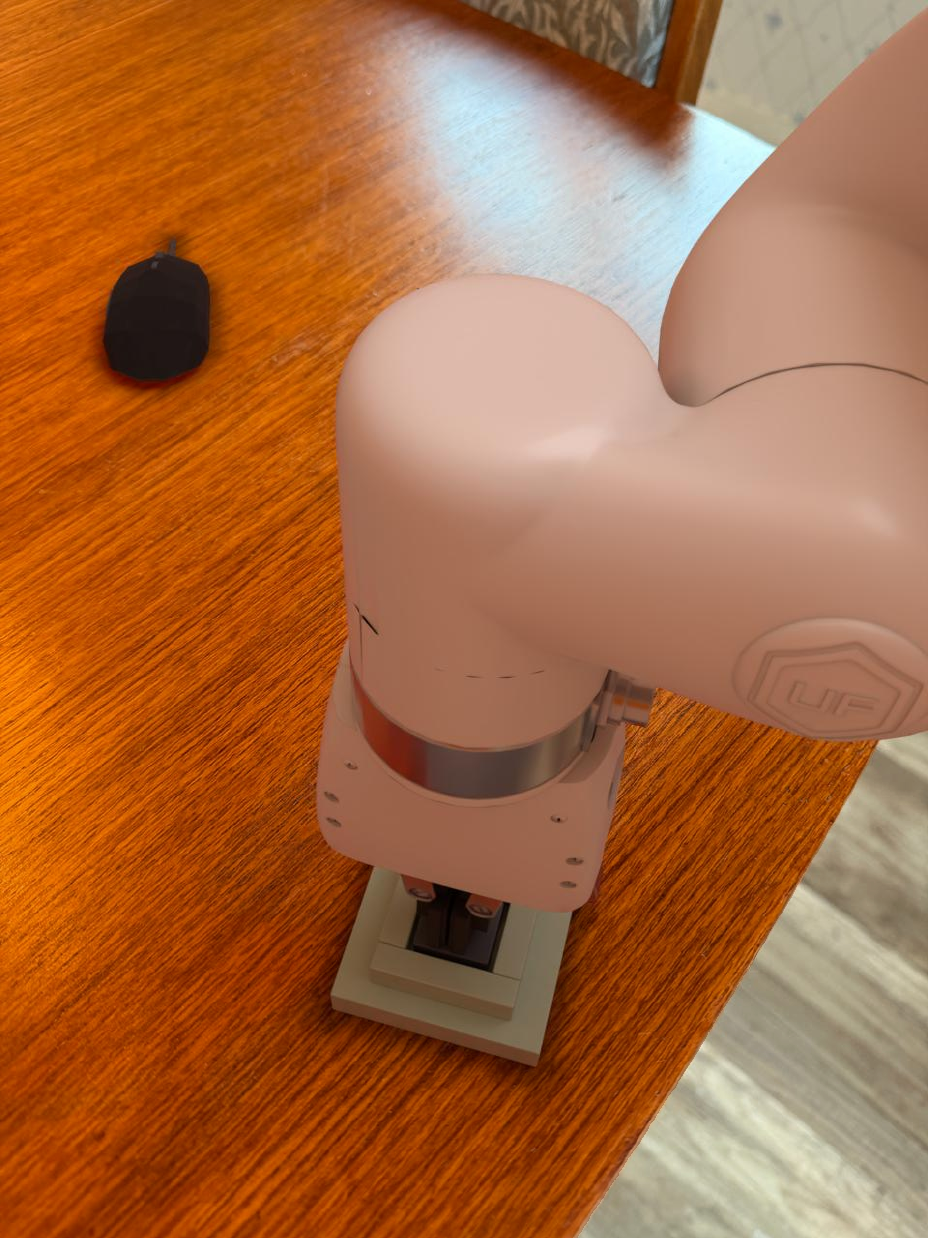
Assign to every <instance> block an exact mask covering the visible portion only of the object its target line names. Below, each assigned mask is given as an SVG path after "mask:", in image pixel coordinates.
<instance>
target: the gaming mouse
mask: <svg viewBox="0 0 928 1238" xmlns="http://www.w3.org/2000/svg"><path fill="white" fill-rule="evenodd" d="M176 246H177V239H176V238H171V239H170V242H169V248H168V250H167V251H166V252H165V251H164V250H163V251H162V250H161V251H155V252H154V255H153V256H150V257H148V258H146V259H143V260H140V261H138V262H135V263H133V264H131V265H128V266H127V267H126V268H125V270H123V272H122V273H121V274H120V275H119V277H118V279H117V281H116V282H115V284H114V285H113V289H111V291H110V293H109V298H108V301H107V305H106V309H105V314H104V317H105V321H104V329H103V335H102V336H103V337H102V344H103V347H104V351H105V354H106V357H107V361H108V364H109V368H111V370H112V371H113V372H114V373H115V372H116V373H118V374H120V375H122V376H123V377H127V378H129V379H130V380H133V381H136V382H138V383H167V382H170V381H171V380H173V379H175V378H178V377H180V376H183V375H185V374H187V373H190V372H193V371H194V370H196V369H197V368H199V367H201V366H202V363H203V362H204V360H205V358H206V356H207V354H208V352H209V349H210V338H211V337H210V336H211V334H210V333H211V332H210V330H211V329H210V316H211V315H210V314H211V313H210V312H211V291H210V290H211V289H210V288H211V287H210V283H209V280H208V276H207V275H206V274H205V272H204V271H203V269H202V268H201V266H200V264H198V263H195V262H193V261H190V260H188V259H185V258H183V257H178V256H177V254H176V252H175V251H176Z"/></svg>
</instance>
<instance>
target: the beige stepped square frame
mask: <svg viewBox="0 0 928 1238" xmlns="http://www.w3.org/2000/svg"><path fill="white" fill-rule="evenodd" d="M416 906H417V899H414V898H412V897H411V896H409V895H408V894H407V893H406V891H405V887H404V884H403V881H402V878H401V875H400V873H397V872H393V871H390V870H386V869H383V868H379V867H376V866H373V868H372V871H371V873H370V877H369V880H368V882H367V886H366V888H365V891H364V894H363V898H362V900H361V903H360V906H359V908H358V912H357V915H356V917H355V921H354V923H353V926H352V929H351V932H350V935H349V937H348V941H347V944H346V947H345V950H344V953H343V956H342V959H341V961H340V965H339V968H338V970H337V973H336V976H335V979H334V982H333V985H332V987H331V991H330V1003H331V1007H332V1008H331V1009H332V1010H334V1011H338V1012H342V1013H345V1014H349V1015H352V1016H355V1017H359V1018H362V1019H365V1020H369V1021H373V1022H376V1023H379V1024H383V1025H387V1026H390V1027H393V1028H398V1029H401V1030H404V1031H408V1032H410V1033H411V1032H412V1033H415V1034H419V1035H422V1036H425V1037H429V1038H431V1039H436V1040H440V1041H443V1042H447V1043H450V1044H454V1045H457V1046H460V1047H461V1046H462V1047H465V1048H468V1049H471V1050H474V1051H478V1052H481V1053H485V1054H489V1055H492V1056H496V1057H499V1058H501V1059H502V1058H503V1059H507V1060H509V1061H513V1062H517V1063H520V1064H524V1065H528V1066H531V1067H535V1068H536V1067H537V1066H538V1062H539V1060H540V1055H541V1052H542V1048H543V1047H542V1046H543V1042H544V1039H545V1033H546V1030H547V1025H548V1021H549V1017H550V1013H551V1009H552V1004H553V998H554V994H555V990H556V985H557V981H558V977H559V973H560V968H561V963H562V960H563V955H564V951H565V946H566V941H567V937H568V933H569V929H570V925H571V920H572V915H573V911H570V912H566V913H558V912H549V911H542V910H537V909H533V908H529V907H524V906H520V905H516V904H512V903H505V907H504V911H503V915H502V919H501V923H500V927H499V930H498V934H497V938H496V942H495V945H494V949H493V953H492V957H491V961H490V964H489V968H488V972H486V971H483V970H479V969H476V968H472V967H468V966H465V965H461V964H457V963H454V962H450V961H447V960H443V959H439V958H436V957H432V956H428V955H425V954H421V953H418V952H414V951H413V942H414V939H415V936H416V933H417V929H418V926H419V923H420V920H421V916H422V915H419V914H416Z"/></svg>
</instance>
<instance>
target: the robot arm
mask: <svg viewBox="0 0 928 1238" xmlns="http://www.w3.org/2000/svg"><path fill="white" fill-rule="evenodd" d="M418 288H419V289H417V288H416V289H414V290H411V291H410V292H408V293H406V294H404V295H403V296H401V297H399V298H397V299H395V300H394V301H392V302H391V303H390V304H389V305H387V306H386V307H385V308H383V310H381V311H380V312H378V313H377V314H376V315H375V317H374V318H373V319H371V320H370V321H369V323H367V325H366V326H365V327H364V329H363V330H362V331H361V332H360V333H359V335H357V337H356V339H355V341H354V343H353V345H352V346H351V349H350V351H348V354H347V356H346V358H345V360H344V362H343V365H342V368H341V373H340V377H339V380H338V382H337V387H336V392H335V404H334V406H335V408H334V409H335V410H334V412H335V414H334V419H335V420H334V422H335V423H334V434H335V448H336V449H335V450H336V452H335V453H336V465H337V466H336V467H337V483H338V484H337V485H338V497H339V514H340V516H339V517H340V528H341V529H340V530H341V531H340V532H341V546H342V561H343V562H342V564H343V578H344V595H345V609H346V611H345V612H346V625H347V628H346V629H347V639H346V641H345V643H344V645H343V647H342V651H341V654H340V656H339V660H338V663H337V667H336V669H335V674H334V677H333V682H332V685H331V689H330V692H329V696H328V700H327V705H326V709H325V714H324V719H323V726H322V730H321V731H322V733H321V740H320V747H319V754H318V755H319V756H318V765H317V775H316V789H315V790H316V791H315V793H316V794H315V796H316V797H315V798H316V799H315V801H316V803H315V804H316V805H315V807H316V816H317V822H318V827H319V830H320V832H321V834H322V837H323V839H324V841H326V843H327V844H328V846H329V847H330V848H331V849H332V850H333V851H335V852H336V853H339V854H340V855H343V857H347V858H349V859H352V860H355V861H357V862H360V863H364V864H366V865H369V866H373V867H374V866H376V867H379V868H383V869H386V870H390V871H393V872H397V873H400V875H401V878H402V881H403V884H404V887H405V891H406V893H407V894H408V895H409V896H411V897H412V898H414V899H417V906H416V914H419V915H423V916H427V917H428V933H427V945H428V946H431V947H435V948H438V949H439V947H440V946H445V944H446V941H447V937H448V934H449V944H448V948H451V949H452V952H453V953H457V954H460V955H464V954H465V951H466V948H467V944H468V941H469V937H470V933H471V930H472V929H474V930H478V931H481V932H485V933H487V931H488V928H489V924H490V921H491V918H492V917H494V916H495V915H496V913H497V912H498V910H499V908H500V906H501V905H502V904H504V903H512V904H516V905H520V906H524V907H529V908H533V909H537V910H542V911H549V912H558V913H566V912H570V911H572V912H574V911H575V910H578V909H579V908H581V907H582V906H584V905H585V904H596V903H597V902H598V899H599V896H600V895H599V894H600V890H601V887H602V886H601V885H602V881H603V878H604V877H603V876H604V872H605V869H604V865H603V858H604V853H605V848H606V843H607V839H608V835H609V832H610V829H611V826H612V822H613V818H614V814H615V809H616V804H617V799H618V794H619V789H620V785H621V784H620V783H621V779H622V773H623V768H624V761H625V752H626V724H629V725H632V726H637V727H640V728H645V729H646V728H647V727H648V723H649V720H650V717H651V713H652V708H653V704H654V700H655V694H656V691H657V688H659V689H661V690H664V691H667V692H670V693H672V694H674V695H677V696H680V697H682V698H685V699H688V700H690V701H693V702H696V703H698V704H701V705H704V706H706V707H710V708H712V709H715V710H717V711H720V712H723V713H727V714H729V715H732V716H736V717H739V718H742V719H744V720H747V721H751V722H753V723H757V724H759V725H763V726H766V727H771V728H775V729H779V730H783V731H785V732H787V733H790V734H792V735H795V736H799V737H802V738H807V739H810V740H815V741H816V740H817V741H825V742H831V743H835V742H836V743H838V742H839V743H855V742H864V741H885V740H891V739H898V738H905V737H910V736H914V735H917V734H921V733H924V732H927V731H928V6H927V7H926V8H924V9H923V10H922V11H920V12H919V13H917V14H916V15H915V16H914V17H913V18H911V19H910V20H909V21H908V22H907V23H906V24H904V25H902V27H900V28H899V29H898V30H897V31H895V32H894V33H893V34H892V35H891V36H890V37H888V38H887V39H886V40H885V41H883V42H882V44H880V45H879V46H878V47H877V48H876V49H875V50H874V51H872V52H871V54H870V55H869V56H867V57H866V58H864V60H863V61H862V62H861V63H860V64H859V65H857V66H856V67H855V68H854V69H853V70H852V71H851V72H850V73H849V74H848V75H847V76H846V77H845V78H844V79H843V80H842V81H841V82H840V83H839V84H838V85H837V86H836V87H835V88H834V89H833V90H832V91H831V92H830V93H829V94H828V95H827V96H826V97H825V98H824V99H823V100H822V101H821V102H820V103H819V104H818V105H817V106H816V107H815V108H814V110H812V112H810V113H809V114H808V116H807V117H806V118H805V119H803V121H801V122H800V123H799V124H798V125H797V127H796V128H795V129H794V130H793V131H792V132H791V133H790V134H789V135H788V136H787V137H786V138H785V139H784V140H783V141H782V142H781V143H780V144H779V145H778V146H777V147H776V148H775V149H774V150H773V151H772V152H771V153H770V154H769V156H768V157H766V159H764V160H763V162H761V164H760V165H759V166H758V167H757V168H756V169H755V170H754V171H753V172H752V173H751V174H750V175H749V176H748V177H747V178H746V179H745V181H743V183H742V184H741V185H740V186H739V188H737V189H736V191H735V192H734V193H733V194H732V195H731V196H730V198H729V199H728V200H727V201H726V202H725V203H724V204H723V205H722V207H721V208H720V209H719V211H718V212H717V213H716V214H715V216H714V217H713V218H712V219H711V221H710V222H709V223H708V225H707V226H706V227H705V228H704V230H703V231H702V233H701V234H700V236H699V237H698V238H697V240H696V241H695V242H694V244H693V246H692V248H691V249H690V251H689V253H688V255H687V257H686V259H685V260H684V261H683V264H682V266H681V267H680V270H679V271H678V272H677V275H676V276H675V278H674V280H673V284H672V285H671V288H670V291H669V293H668V294H669V295H668V298H667V301H666V305H665V308H664V311H663V314H662V320H661V324H660V331H659V341H658V342H659V343H658V357H657V364H656V362H655V360H654V358H653V356H652V354H651V352H650V350H649V349H648V347H647V346H646V344H645V343H644V341H643V340H642V339H641V337H640V336H639V335H638V333H636V332H635V330H634V329H633V327H632V326H631V325H630V324H629V323H628V322H627V320H625V319H624V318H623V317H621V316H620V315H619V314H617V313H616V312H615V311H614V310H612V309H611V308H610V307H609V306H607V305H605V304H604V303H602V302H600V301H599V300H597V299H596V298H594V297H592V296H591V295H588V294H585V293H584V292H581V291H579V290H577V289H574V288H572V287H570V286H567V285H564V284H560V283H557V282H554V281H551V280H547V279H545V278H540V277H534V276H528V275H523V274H514V273H513V274H512V273H511V274H509V273H479V274H478V273H477V274H469V275H463V276H456V277H451V278H447V279H443V280H440V281H436V282H433V283H429V284H427V285H424V286H421V287H418ZM449 930H450V932H449Z"/></svg>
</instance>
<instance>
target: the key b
mask: <svg viewBox="0 0 928 1238" xmlns="http://www.w3.org/2000/svg"><path fill="white" fill-rule="evenodd" d="M504 907H505V903H504V904H502V905H501V906H500V908H499V910H498V912H497V913H496V915H495V916H494V917H492V918H491V921H490V924H489V928H488V931H487V933H485V932H481V931H478V930H474V929H472V930H471V933H470V937H469V941H468V944H467V948H466V951H465V954H464V955H460V954H457V953H453V952H452V949H451V948H448V944H449V934H448V937H447V941H446V944H445V946H440V947H439V949H438V948H435V947H431V946H428V945H427V933H428V917H427V916H423V915H422V916H421V920H420V923H419V926H418V929H417V933H416V936H415V939H414V942H413V951H414V952H418V953H421V954H425V955H428V956H432V957H436V958H439V959H443V960H447V961H450V962H454V963H457V964H461V965H465V966H468V967H472V968H476V969H479V970H483V971H486V972H488V968H489V964H490V961H491V957H492V953H493V949H494V945H495V942H496V938H497V934H498V930H499V927H500V923H501V919H502V915H503V911H504ZM449 932H450V930H449Z"/></svg>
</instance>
